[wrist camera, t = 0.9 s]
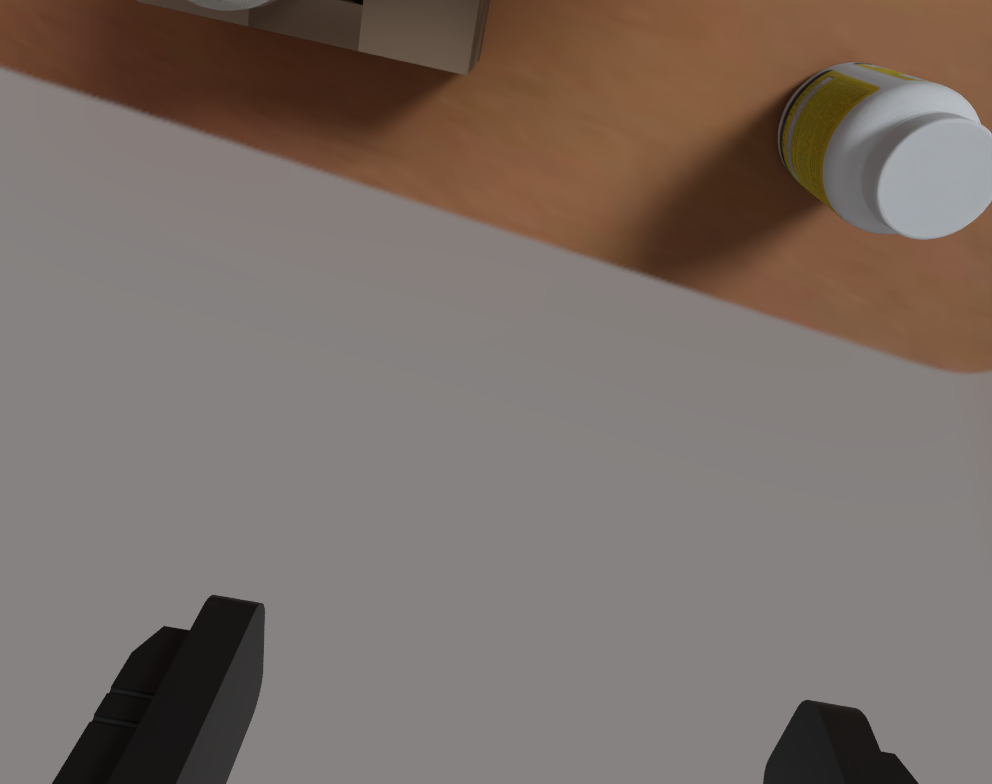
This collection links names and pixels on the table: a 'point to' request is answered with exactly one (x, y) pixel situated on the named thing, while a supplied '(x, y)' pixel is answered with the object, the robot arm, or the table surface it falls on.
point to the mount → (371, 26)
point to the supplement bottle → (888, 150)
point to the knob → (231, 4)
